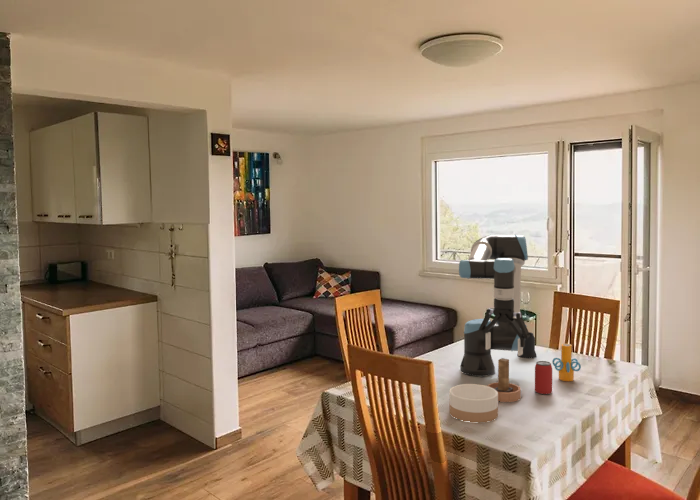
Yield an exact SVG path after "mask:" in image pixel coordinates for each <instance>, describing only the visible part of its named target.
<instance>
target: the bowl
mask: <svg viewBox="0 0 700 500" xmlns="http://www.w3.org/2000/svg"><path fill="white" fill-rule="evenodd" d="M448 392H449V394H448V395H449V399H448V400H449V415H450V414H451V415H452V416H453V417H455V418H457V419H460V420H463V421H462V422H464V421H470V422H485V423H488V422H487V421H490V422H493V421H495V420H496V419H497V418H498V415H499V401H498V392H497V391H496V390H495V389H493V388H491V387H488V386H487V385H483V384H479V383H477V384H476V383H461V384H457V385H454V386H452V387H450V389H449V391H448ZM451 415H450V416H451ZM452 416H451V417H452ZM453 417H452V418H453ZM455 418H454V419H455ZM457 419H456V420H457ZM494 419H495V420H494ZM460 420H459V421H460ZM492 420H493V421H492Z"/></svg>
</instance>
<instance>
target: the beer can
mask: <svg viewBox="0 0 700 500" xmlns="http://www.w3.org/2000/svg"><path fill="white" fill-rule="evenodd" d="M534 391H535V393H537V394H539V395H550V394H552V393H553V366H552V362H550V361H548V360H547V361H546V360H537V361H536V362H535V365H534Z"/></svg>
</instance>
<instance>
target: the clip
mask: <svg viewBox="0 0 700 500" xmlns="http://www.w3.org/2000/svg"><path fill="white" fill-rule="evenodd" d="M495 390H496V391H498V392H508V393H509V392H513V388H510V387H509V390H507V391H503V390H499V389H498V387H497V388H495Z"/></svg>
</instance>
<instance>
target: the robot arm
mask: <svg viewBox="0 0 700 500" xmlns="http://www.w3.org/2000/svg"><path fill="white" fill-rule="evenodd" d="M528 260H529V257H528V247H527V240H526V237H525V236H524V235H523V234H522V235H521V234H490V235H486V236H482V237H481V238H479V239H478V240H475V242H473V243H472V245H471V247H470V255H469V256H468V258H467V259H461V260H460V261H459V263H458V274H459V277H460V278H461V279H468V280H469V279H478V280H479V279H483V280H484V279H486V280H487V279H488V280H491V279H492V280H493V297H494V299H493V308H494V309H492V308H491V307H489V308H487V309H486V311H485V315H484V318H476V319H471V320H467V322H465V323H464V326H463V327H464V329H463V338H464V339H463V342H464V344H463V345H464V347H463V348H464V349H463V350H464V354H463V357H462V359H461V363H460V366H459V367H460V370H459V371H460V372H461V373H462V372H463V374H465V375H468V376H473V377H474V376H476V377H485V376H492V375H493V374H495V372H496V369H495V363H494V360H493V357H492V355H491V354H492V350H493V351H494V350H497V351H510V352H517V354H518V356H517V357H519V356H520V355H522V354H523V348H524V346H525V338H528V337H530V334H529V332H530V331H529V329H528V328H527V327H528V326H527V324H526V323H525V321H524V318H523V313H522V311H521V291H522V290H521V286H522V284H521V282H522V281H521V280H522V267H523V266H524V265H525V261H528ZM492 315H494V317H493V319H491V317H492Z"/></svg>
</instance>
